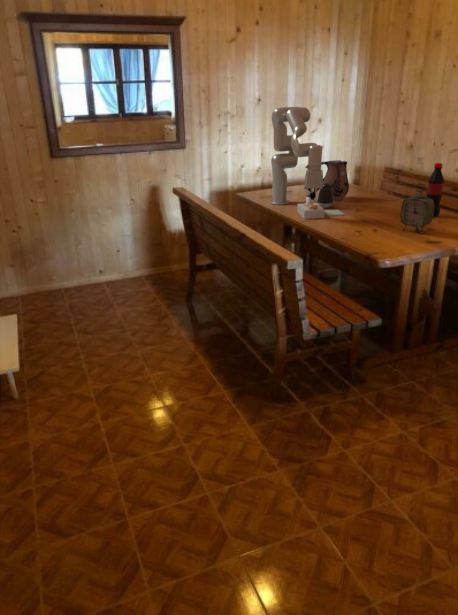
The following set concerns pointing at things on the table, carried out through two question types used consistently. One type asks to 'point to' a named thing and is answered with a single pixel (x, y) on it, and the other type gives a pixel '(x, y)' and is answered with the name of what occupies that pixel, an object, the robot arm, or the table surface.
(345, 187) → the ceramic pitcher
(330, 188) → the pump dispenser
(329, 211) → the mat
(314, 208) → the plunger
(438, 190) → the cola bottle
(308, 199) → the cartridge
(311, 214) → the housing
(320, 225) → the table surface
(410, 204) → the tabletop clock
